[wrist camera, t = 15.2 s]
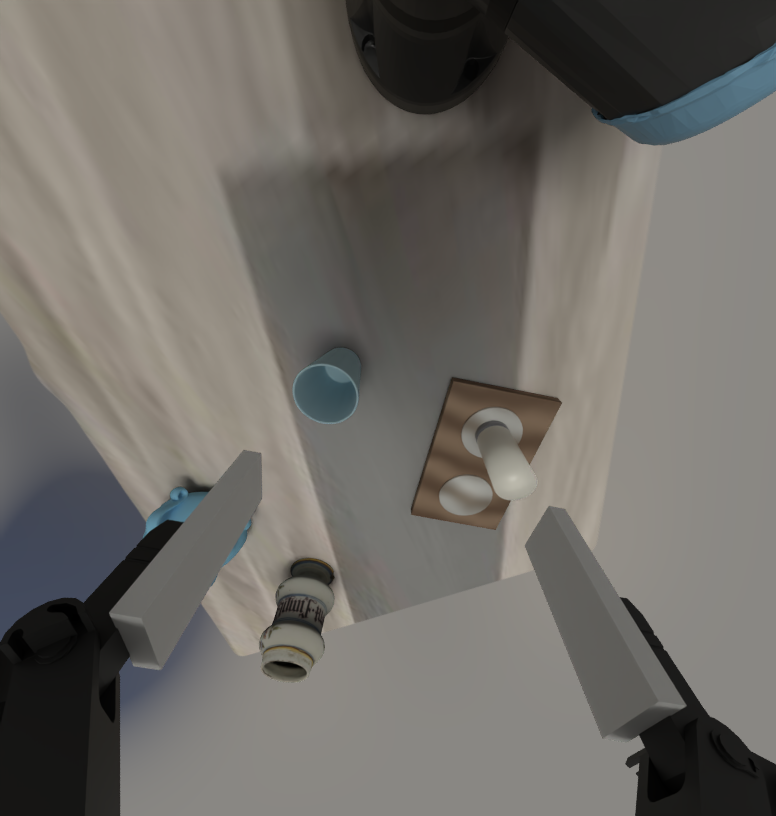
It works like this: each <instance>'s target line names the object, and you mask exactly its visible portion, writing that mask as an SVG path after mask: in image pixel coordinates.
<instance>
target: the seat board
mask: <svg viewBox="0 0 776 816" xmlns="http://www.w3.org/2000/svg"><path fill="white" fill-rule="evenodd" d="M561 404H562V402H561V401H560V400H559V399H558V398H554V397H549V396H544V395H539V394H534V393H529V392H524V391H519V390H514V389H508V388H503V387H498V386H493V385H488V384H483V383H478V382H473V381H468V380H463V379H458V378H453V377H452V379H451V382H450V385H449V389H448V392H447V395H446V398H445V401H444V405H443V408H442V411H441V414H440V418H439V421H438V424H437V427H436V430H435V434H434V437H433V440H432V443H431V446H430V450H429V453H428V456H427V459H426V462H425V466H424V469H423V472H422V475H421V478H420V482H419V485H418V488H417V491H416V495H415V498H414V501H413V504H412V507H411V515H416V516H421V517H427V518H432V519H438V520H443V521H449V522H455V523H460V524H466V525H471V526H477V527H482V528H488V529H494V530H496V528H497V526H498V524H499V522H500V520H501V518H502V517H503V515H504V513H505V511H506V509H507V507H508V505H509V503H510V501H511V500H506V499H503V498H501V497H499V496H498V495H497V494H496V493H495V490H494V488H493V485H492V482H491V480H490V477H489V474H488V472H487V469H486V466H485V464H484V461H483V458H482V455H481V453H480V450H479V447H478V445H477V442H476V439H475V433H476V430H477V429H478V427H479V426H480V425H482V424H483V423H485V422H487V421H492V420H496V421H500V422H503V423H504V424H505V425H506V426H507V427H508V429H509V431H510V432H511V434H512V436H513V438H514V439H515V441H516V443H517V445H518V446H519V448H520V450H521V451H522V453H523V455H524V457H525V458H526V460H527V462H528V463H529V465H530V463H531V461H532V459H533V457H534V455H535V453H536V452H537V450H538V448H539V446H540V444H541V442H542V440H543V438H544V436H545V434H546V432H547V431H548V429H549V427H550V425H551V423H552V421H553V419H554V417H555V415H556V413H557V411H558V409H559V408H560V406H561Z"/></svg>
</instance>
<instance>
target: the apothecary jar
mask: <svg viewBox="0 0 776 816" xmlns="http://www.w3.org/2000/svg"><path fill="white" fill-rule="evenodd" d="M333 572H334V571H333V569H332V568H331V567H330V566H329V565H328V564H327V563H325V562H323V561H320V560H318V559H312V558H306V559H301V560H298V561H296V562H295V563H294V564H293V565H292V567H291V575H292V577H291V578H289V579H287V580H285V581H284V582H282V583H281V584H280V586H279V587H278V589H277V591H276V603H277V606H278V608H277V611H276V615H275V618H274V621H273V623H272V625H271V626H270V627H268V628H267V629H266V630H265V631H264V632H263V633H262V635H261V638H260V641H259V649H260V652H261V654H262V656H263V659H262V664H261V671H262V673H263V674H264V675H265V676H267V677H269V678H271V679H274V680H277V681H281V682H288V683H294V682H300V681H303V680H305V679H306V678H307V677H308V676H309V674H310V671H311V668H312V666H313V665H315V664H316V663H317V662H318V661H319V660H320V659H321V657H322V655H323V653H324V648H325V646H324V640H323V638H322V636H321V632H322V627H323V622H324V618H325V616H326V615H327V614H328V613H329V612H330V611H331V609H332V607H333V605H334V594H333V591H332V590H331V588H330V587H329V584H330V583H332V581H333V580H334V576H333Z"/></svg>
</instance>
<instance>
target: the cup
mask: <svg viewBox="0 0 776 816" xmlns="http://www.w3.org/2000/svg"><path fill="white" fill-rule="evenodd" d="M360 375H361V363H360V360H359V357H358V356H357V355H356V354H355V353H354V352H353V351H352V350H349V349H347V348H334V349H333V350H331V351H329V352H327V353H326V354H325V355H323V356H322V357H320V358H319V359H317V360H316V361H314V362H313V363H312V364H310V365H308V366H307V367H306V368H304V369H303V370H302V371H300V372H299V374H298V375H297V376H296V378H295V380H294V383H293V397H294V401H295V403H296V405H297V406H298V408H299V409H300V411H301V412H302V413H303V414H304V415H306V416H307V417H308V418H310V419H312V420H314V421H316V422H319V423H323V424H336V423H340V422H342V421H345V420H346V419H348V418H349V417H350V416H351V415H352V414H353V413H354V412H355V410H356V408H357V405H358V401H359V386H360Z"/></svg>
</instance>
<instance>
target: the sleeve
mask: <svg viewBox="0 0 776 816" xmlns="http://www.w3.org/2000/svg"><path fill="white" fill-rule="evenodd" d="M475 439H476V442H477V445H478V447H479V450H480V453H481V455H482V458H483V461H484V464H485V466H486V469H487V472H488V474H489V477H490V480H491V482H492V485H493V488H494V490H495V493H496V494H497V495H498V496H499V497H501V498H503V499H506V500H520V499H523V498H525V497H527V496H529V495H530V494H531V493H533V491H534V490H535V489H536V487H537V478H536V476H535V474H534V472H533V470H532V469H531V467H530V465H529V463H528V462H527V460H526V458H525V457H524V455H523V453H522V451H521V450H520V448H519V446H518V445H517V443H516V441H515V439H514V438H513V436H512V434H511V432H510V431H509V429H508V427H507V426H506V425H505V424H504V423H503V422H500V421H496V420H492V421H487V422H485V423H483V424H482V425H480V426H479V427H478V429H477V430H476V433H475Z"/></svg>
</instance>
